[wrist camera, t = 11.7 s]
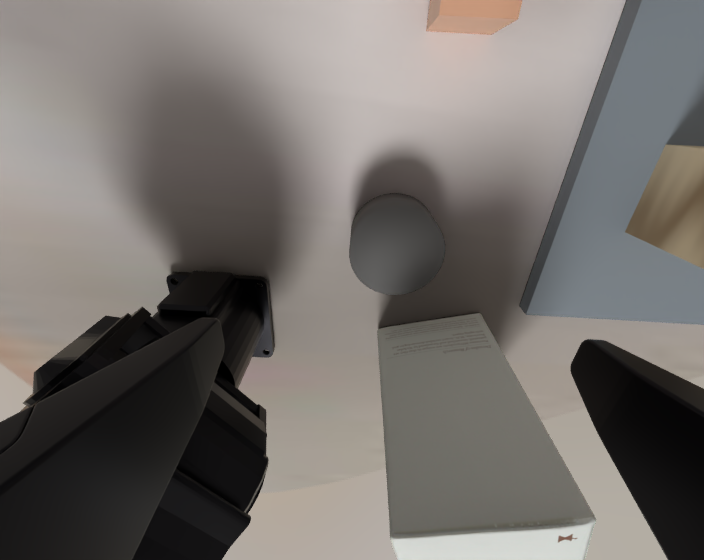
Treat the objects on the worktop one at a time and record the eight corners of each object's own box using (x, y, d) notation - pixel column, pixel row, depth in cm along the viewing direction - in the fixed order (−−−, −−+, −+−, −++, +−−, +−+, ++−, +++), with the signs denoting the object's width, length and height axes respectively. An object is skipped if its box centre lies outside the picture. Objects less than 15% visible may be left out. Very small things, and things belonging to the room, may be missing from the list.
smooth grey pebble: (426, 273, 21) (436, 297, 18) (349, 268, 21) (347, 292, 18) (440, 195, 18) (453, 209, 16) (353, 190, 18) (351, 204, 16)
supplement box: (374, 326, 23) (386, 537, 11) (482, 310, 22) (609, 522, 10) (390, 398, 26) (410, 616, 15) (484, 387, 25) (581, 610, 14)
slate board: (699, 316, 21) (713, 325, 20) (519, 306, 21) (525, 314, 20) (908, 9, 14) (945, 2, 13) (628, -5, 14) (646, -13, 13)
